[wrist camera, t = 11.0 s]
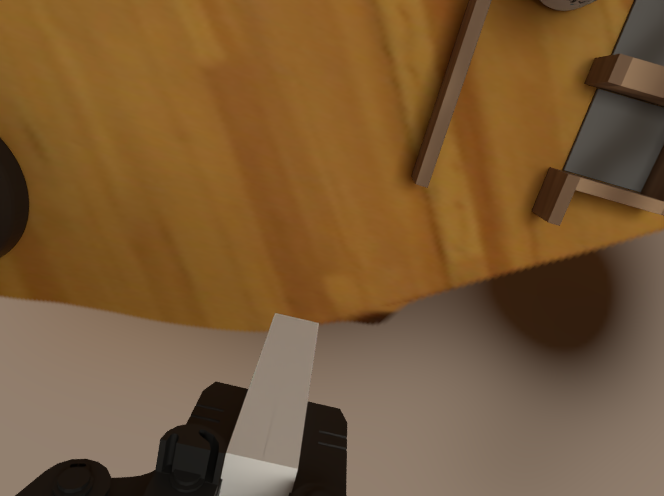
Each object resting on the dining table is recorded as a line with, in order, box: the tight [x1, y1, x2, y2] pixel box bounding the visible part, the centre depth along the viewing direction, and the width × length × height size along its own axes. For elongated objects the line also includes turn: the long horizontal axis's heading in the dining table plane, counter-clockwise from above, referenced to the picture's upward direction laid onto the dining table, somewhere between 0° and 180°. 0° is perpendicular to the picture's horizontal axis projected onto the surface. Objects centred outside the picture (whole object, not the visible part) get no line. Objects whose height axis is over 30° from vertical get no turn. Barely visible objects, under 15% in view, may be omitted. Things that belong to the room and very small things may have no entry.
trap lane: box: [411, 0, 664, 226], centre depth 37 cm, size 20×24×4 cm
